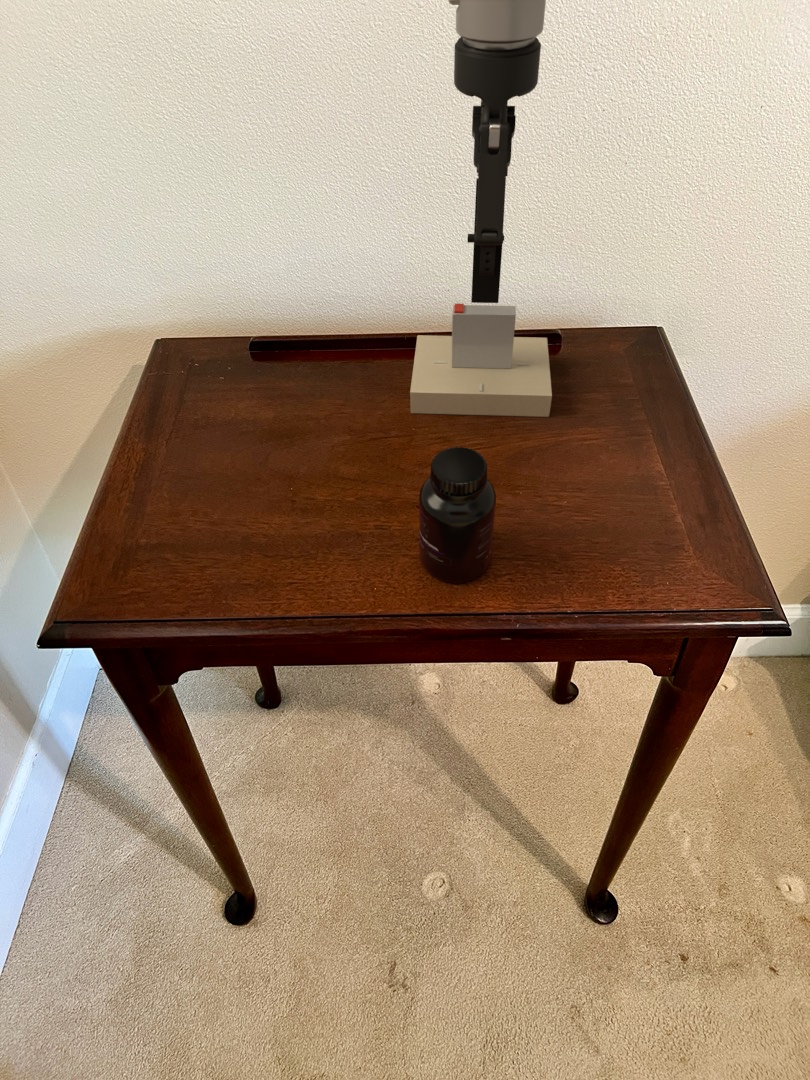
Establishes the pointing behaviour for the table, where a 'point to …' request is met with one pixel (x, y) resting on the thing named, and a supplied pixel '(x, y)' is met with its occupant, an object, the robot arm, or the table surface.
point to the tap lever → (482, 336)
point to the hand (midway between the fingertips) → (485, 268)
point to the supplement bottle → (456, 516)
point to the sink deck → (481, 381)
